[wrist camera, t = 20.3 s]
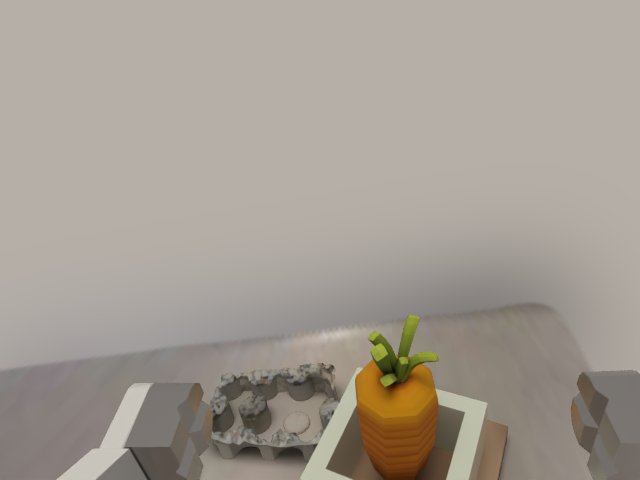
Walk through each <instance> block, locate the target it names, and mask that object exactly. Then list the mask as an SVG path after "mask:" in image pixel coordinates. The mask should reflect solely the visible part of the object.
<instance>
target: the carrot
mask: <svg viewBox="0 0 640 480" xmlns="http://www.w3.org/2000/svg"><path fill="white" fill-rule="evenodd" d="M418 322H419V317H417V316H415V315H409V316H408V317H407V319H406V322H405V325H404V328H403V333H402V337H401V342H400V347H399V352H398V355H395V353H394V351H393V349H392V347H391V345H390V344H389V343H388V342H387V340H386V339H385V338H384V337H383V336H382V335H381V334H380V333H379V332H377V331H374V332H373V333H372V334H370V336H369V337H368V339H369V340H370V341H371V342H372V343H373V344H374V345H375V347H374V348H373V349H372V350H371V351H370V352H371V355H372V357H373V360H372V361H371V362H370V363H369V364H368V365H367V366H366V367H365V368H364V369H362V370H361V371H360V372H359V373H358V374H357V375H356V378H355V389H356V400H357V411H358V417H359V423H360V429H361V434H362V439H363V443H364V448H365V450H366V452H367V455H368V457H369V459H370V461H371V463H372V465H373V467H374V469H375V470H376V471H377V472H378V473H379V474H380V475H381V476H382V477H383V478H384V479H385V480H415V478H416V477H417V476H418V475H419V473H420V472H421V471H422V470H423V468H424V467H425V466H426V464H427V461H428V459H429V457H430V454H431V451H432V448H433V445H434V442H435V436H436V428H437V418H438V404H439V403H438V397H437V393H436V389H435V385H434V381H433V377H432V373H431V371H430V369H429V368H427V367H426V366H424V365H422V363H424V362H434V361H439V359H438V356H437V354H436V353H435V352H420V353H417V354H415V355H414V356H412V357H411V358H410V357H409V356H408V353H409V350H410V347H411V344H412V340H413V337H414V334H415V331H416V328H417V325H418Z"/></svg>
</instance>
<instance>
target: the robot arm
mask: <svg viewBox="0 0 640 480" xmlns="http://www.w3.org/2000/svg"><path fill="white" fill-rule="evenodd" d="M577 386H578V388H579V390H580V393H579V394H578V395H577V396H575V397H574V398H573V401H572V406H571V418H572V425H573V429H574V433H575V435H576V438H577V440H578V443H579V445H580V446H582V447H583V448H584V449H585V450H586V451H588V452H589V453H590V457H589V461H588V464H587V466H588V468H589V471H590V473H591V476H592V478H593V480H640V371H632V370H630V371H629V370H628V371H602V372H582V373H581V374H580V375H579V378H578V381H577ZM203 393H204V392H203V390H202V388H201V386H200V383H134V384H133V385H132V386H131V387H130V388H129V389H128V390H127V392H126V394H125V396H124V398H123V400H122V402H121V404H120V406H119V408H118V410H117V412H116V415H115V417H114V419H113V421H112V423H111V425H110V427H109V429H108V431H107V433H106V435H105V437H104V439H103V441H102V444H101V446H100V448H99V449H92V450H91V451H90V452H88V453H87V454H86V455H85V456H84V457H83V458H81V459H80V460H79V461H78V462H77V463H76V464H74V465H73V466H72V467H71V468H70V469H69V470H67V471H66V472H65V473H64V474H63V475H61V476H60V477H59V478H58V479H57V480H200V476H201V473H202V469H203V464H202V462H201V459H200V457H199V456H200V455H201V454H202V453H203V452H204V451H205V450H206V449H207V448H208V447H209V444H210V440H211V436H212V425H213V420H212V413H211V410H210V407H209V405H208V404H206V403H205V402H203V401H202V397H203Z"/></svg>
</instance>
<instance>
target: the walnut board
mask: <svg viewBox="0 0 640 480" xmlns="http://www.w3.org/2000/svg"><path fill="white" fill-rule="evenodd" d="M507 432H508V426H504V425H501V424H498V423H494V422H491V421H487V420H486V428H485V441H484V449H483V454H482V458H481V462H480V466H479V471H478V475H477V479H476V480H499V475H500V470H501V465H502V460H503V455H504V450H505V445H506V439H507ZM453 454H454V453H453V452H450V451H447V450H444V449H441V448H438V447H435V446H433V448H432V451H431V454H430V457H429V459H428V461H427V464H426V466H425V467H424V468H423V470H422V471H421V472H420V473H419V475H418V476H417V477H416V478H415V480H446V478H447V475H448V471H449V468H450V464H451V461H452V457H453ZM350 479H353V480H385V479H384V478H383V477H382V476H381V475H380V474H379V473H378V472H377V471H376V470H375V469H374V467H373V465H372V463H371V461H370V459H369V457H368V455H367V452H366V450H365V448H364V446H363V448H362V450H361V453H360V455H359V457H358V459H357V462H356V464H355V466H354V468H353V471H352V473H351V475H350Z"/></svg>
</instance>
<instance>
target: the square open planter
mask: <svg viewBox="0 0 640 480" xmlns="http://www.w3.org/2000/svg"><path fill="white" fill-rule="evenodd" d="M362 369H363V368H360V367H358V368H357V370H356V372H355V374H354V376H353V377H352V379H351V381H350V383H349V385H348V387H347V389H346V391H345V393H344V395H343V397H342V399H341V401H340V402H339V404H338V406H337V408H336V410H335V412H334V414H333V416H332V418H331V420H330V422H329V424H328V426H327V427H326V429H325V431H324V433H323V435H322V437H321V439H320V441H319V443H318V445H317V447H316V449H315V451H314V452H313V454H312V456H311V458H310V460H309V462H308V464H307V466H306V468H305V470H304V472H303V474H302V476H301V477H300V480H353V479H350V475H351V473H352V471H353V468H354V466H355V464H356V462H357V459H358V457H359V455H360V453H361V450H362V448H363V446H364V443H363V439H362V434H361V429H360V423H359V417H358V411H357V400H356V389H355V378H356V375H357V374H358V373H359V372H360V371H361V370H362ZM436 393H437V397H438V403H439V404H438V418H437V428H436V436H435V442H434V445H433V446H435V447H438V448H441V449H444V450H447V451H450V452H453V453H454V454H453V457H452V461H451V464H450V468H449V471H448V475H447V478H446V480H476V479H477V475H478V471H479V466H480V462H481V458H482V454H483V449H484V441H485V428H486V416H487V403H485V402H482V401H478V400H475V399H471V398H467V397H464V396H460V395H457V394H453V393H449V392H446V391H442V390H439V389H436Z"/></svg>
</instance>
